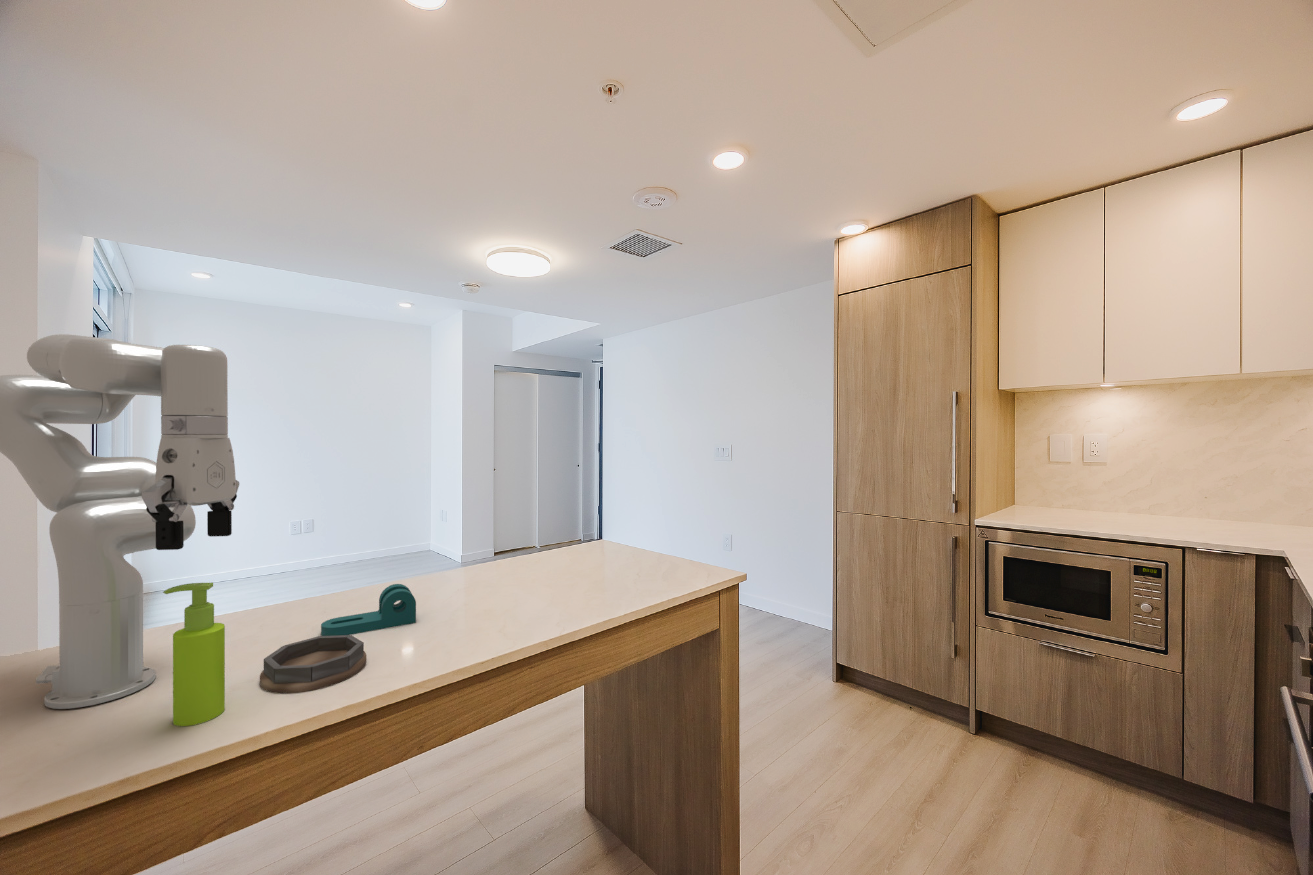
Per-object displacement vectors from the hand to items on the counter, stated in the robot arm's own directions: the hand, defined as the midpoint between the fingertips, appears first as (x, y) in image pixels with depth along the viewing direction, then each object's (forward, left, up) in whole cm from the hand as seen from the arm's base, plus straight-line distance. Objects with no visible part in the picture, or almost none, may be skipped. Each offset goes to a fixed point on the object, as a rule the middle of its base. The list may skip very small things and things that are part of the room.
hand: (196, 542), depth 78 cm
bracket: (+10, +36, -27) cm, 46 cm away
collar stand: (+10, +14, -26) cm, 31 cm away
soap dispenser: (0, 0, -27) cm, 27 cm away
